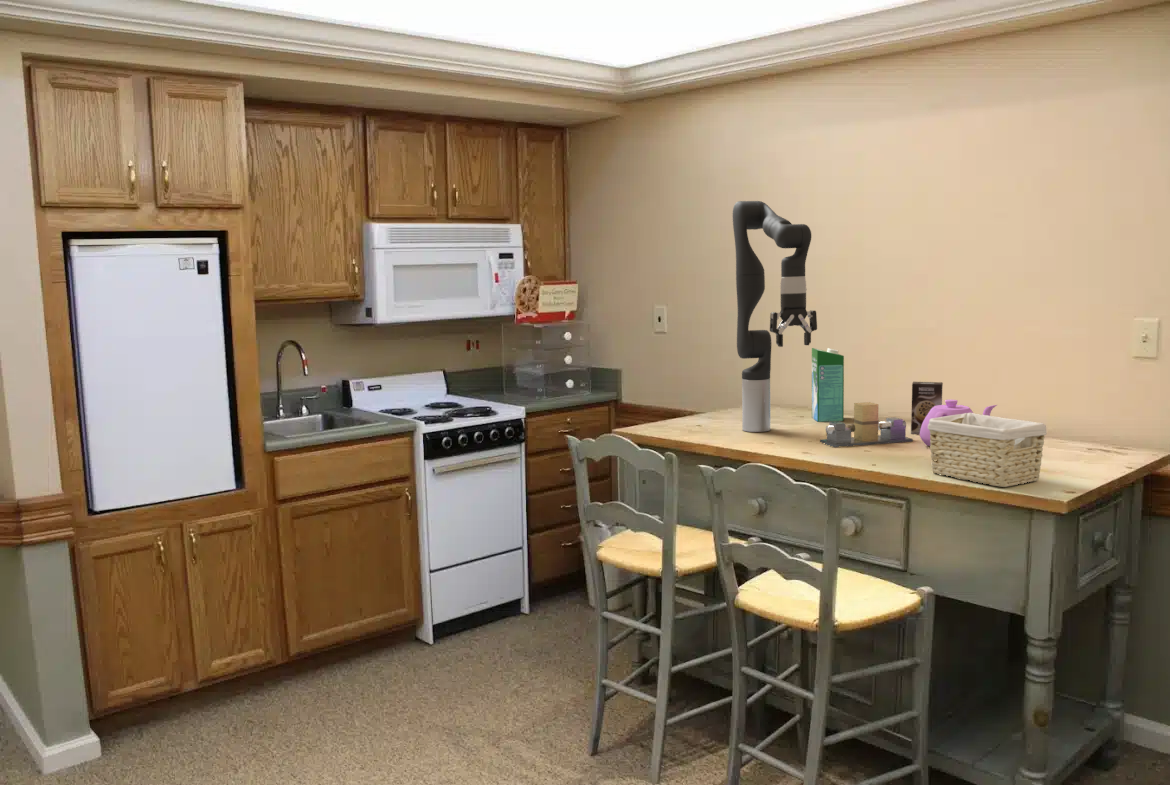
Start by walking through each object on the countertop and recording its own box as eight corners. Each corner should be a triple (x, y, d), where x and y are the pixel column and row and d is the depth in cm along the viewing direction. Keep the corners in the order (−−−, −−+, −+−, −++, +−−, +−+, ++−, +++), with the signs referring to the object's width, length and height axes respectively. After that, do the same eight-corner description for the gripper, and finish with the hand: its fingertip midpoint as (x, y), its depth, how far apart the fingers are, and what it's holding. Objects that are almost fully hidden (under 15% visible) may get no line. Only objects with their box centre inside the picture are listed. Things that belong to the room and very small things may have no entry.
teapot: (982, 457, 264) (983, 408, 262) (906, 449, 278) (906, 402, 277) (1009, 445, 280) (1011, 398, 278) (937, 437, 294) (937, 393, 293)
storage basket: (924, 473, 247) (924, 417, 245) (967, 465, 255) (968, 411, 253) (1003, 491, 226) (1004, 430, 224) (1047, 482, 234) (1049, 422, 232)
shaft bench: (833, 447, 284) (833, 425, 283) (819, 442, 293) (819, 421, 292) (912, 441, 290) (912, 420, 289) (896, 436, 298) (897, 415, 297)
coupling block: (862, 441, 288) (862, 405, 286) (853, 438, 293) (853, 403, 292) (878, 440, 289) (878, 404, 288) (869, 437, 294) (869, 402, 293)
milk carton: (843, 421, 329) (844, 349, 326) (817, 421, 330) (817, 349, 326) (837, 417, 338) (837, 346, 335) (811, 417, 338) (811, 347, 335)
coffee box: (910, 434, 302) (911, 383, 300) (911, 430, 308) (912, 381, 305) (941, 435, 298) (942, 384, 296) (941, 431, 304) (942, 381, 302)
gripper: (809, 290, 290) (809, 343, 293) (766, 292, 287) (766, 346, 290) (821, 291, 283) (821, 345, 285) (776, 293, 280) (776, 348, 282)
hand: (793, 345), depth 287 cm, fingers open, 8 cm apart
